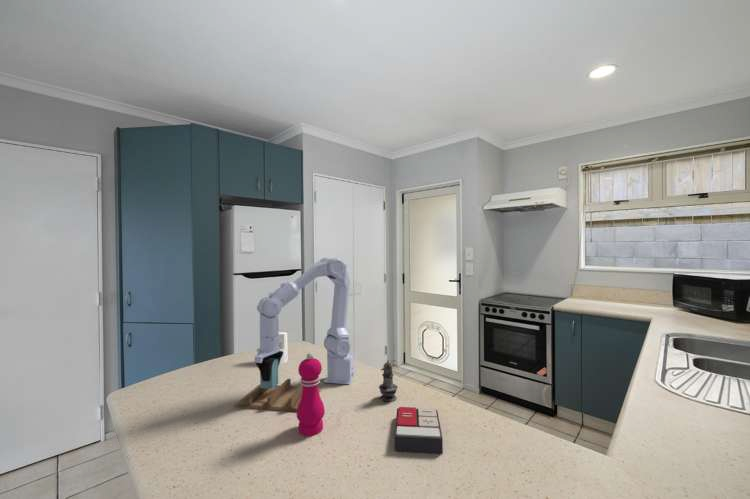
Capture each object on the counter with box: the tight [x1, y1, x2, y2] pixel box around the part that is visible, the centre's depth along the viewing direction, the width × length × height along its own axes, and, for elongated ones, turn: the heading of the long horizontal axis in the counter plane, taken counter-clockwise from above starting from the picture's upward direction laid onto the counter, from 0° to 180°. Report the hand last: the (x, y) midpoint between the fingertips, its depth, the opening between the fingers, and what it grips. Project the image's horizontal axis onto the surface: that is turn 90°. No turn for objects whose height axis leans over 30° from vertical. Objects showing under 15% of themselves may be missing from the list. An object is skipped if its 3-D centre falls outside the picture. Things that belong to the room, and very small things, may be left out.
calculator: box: [393, 406, 444, 455], centre depth 81 cm, size 11×4×15 cm
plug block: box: [259, 358, 279, 389], centre depth 102 cm, size 4×4×8 cm
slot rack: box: [234, 378, 321, 413], centre depth 101 cm, size 22×14×4 cm, turn 81°
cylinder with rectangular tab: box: [279, 331, 289, 365], centre depth 135 cm, size 9×9×12 cm
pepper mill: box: [296, 352, 326, 437], centre depth 84 cm, size 7×7×20 cm
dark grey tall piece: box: [378, 360, 398, 403], centre depth 101 cm, size 6×6×12 cm
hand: (269, 377), depth 102 cm, fingers closed on plug block, 4 cm apart
